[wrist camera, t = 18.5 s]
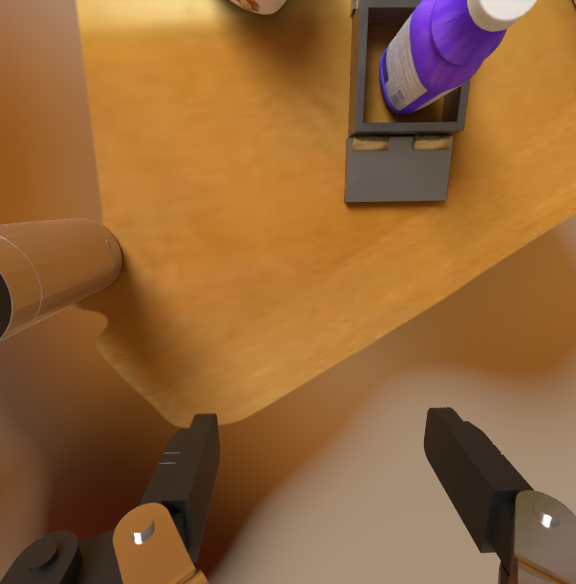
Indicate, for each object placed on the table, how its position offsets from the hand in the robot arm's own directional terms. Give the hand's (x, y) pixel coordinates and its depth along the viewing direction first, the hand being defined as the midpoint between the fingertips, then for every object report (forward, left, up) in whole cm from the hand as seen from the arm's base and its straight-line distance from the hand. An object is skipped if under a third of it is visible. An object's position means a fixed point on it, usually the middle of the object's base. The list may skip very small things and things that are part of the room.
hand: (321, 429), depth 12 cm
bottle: (+13, +21, -30) cm, 39 cm away
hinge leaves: (+13, +21, -30) cm, 39 cm away
